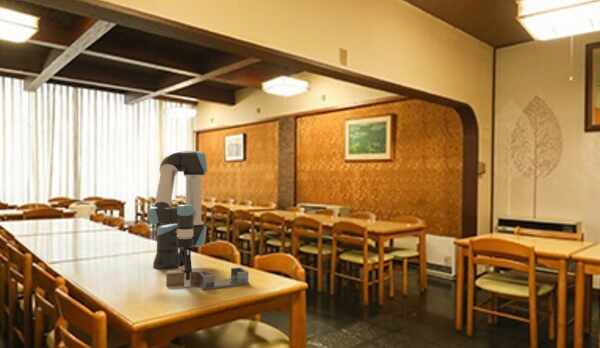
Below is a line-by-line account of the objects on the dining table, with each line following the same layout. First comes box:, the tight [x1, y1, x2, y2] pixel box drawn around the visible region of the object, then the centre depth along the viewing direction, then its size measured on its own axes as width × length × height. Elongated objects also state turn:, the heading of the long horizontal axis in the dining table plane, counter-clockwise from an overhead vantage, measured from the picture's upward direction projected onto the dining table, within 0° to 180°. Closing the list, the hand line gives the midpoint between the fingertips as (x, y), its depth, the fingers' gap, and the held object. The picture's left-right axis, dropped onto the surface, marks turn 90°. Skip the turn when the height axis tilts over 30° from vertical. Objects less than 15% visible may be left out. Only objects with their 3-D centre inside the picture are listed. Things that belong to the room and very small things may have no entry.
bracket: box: [196, 266, 250, 291], centre depth 186 cm, size 11×22×6 cm, turn 118°
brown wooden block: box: [165, 268, 203, 287], centre depth 187 cm, size 5×16×6 cm, turn 110°
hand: (184, 283), depth 187 cm, fingers open, 12 cm apart
